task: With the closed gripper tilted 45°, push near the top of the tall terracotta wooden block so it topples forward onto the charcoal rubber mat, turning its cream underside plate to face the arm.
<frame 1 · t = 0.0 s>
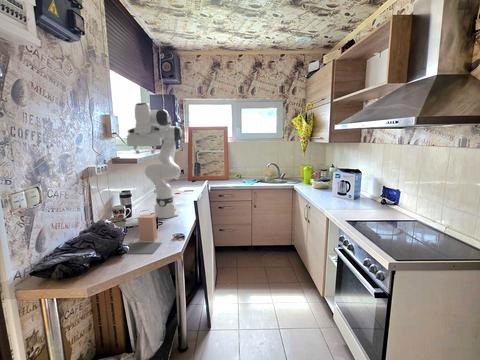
hand: (145, 153, 158), 48 cm above the worktop, tool pointing down, fingers open, 8 cm apart
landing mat: (140, 248, 136), on the worktop
terracotta block: (148, 240, 146), on the worktop
food container: (114, 236, 154), on the worktop
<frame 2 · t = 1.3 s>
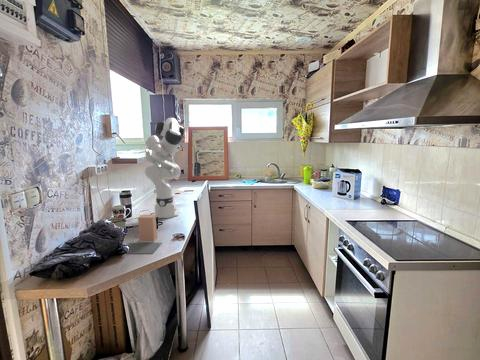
hand: (165, 170, 146), 39 cm above the worktop, tool tilted 55°, fingers open, 8 cm apart
nothing on the worktop moved.
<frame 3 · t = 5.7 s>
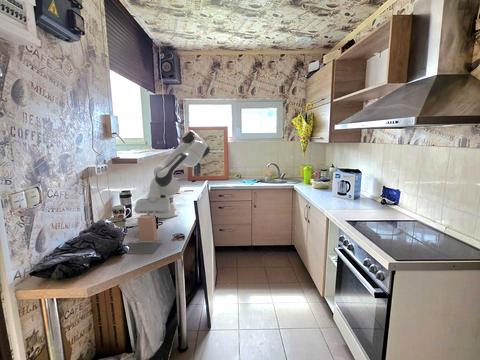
hand: (149, 219, 147), 11 cm above the worktop, tool tilted 45°, fingers closed
terracotta block: (148, 240, 146), on the worktop, touching gripper
everything else where it was.
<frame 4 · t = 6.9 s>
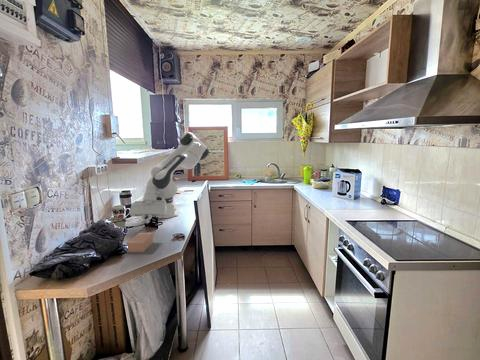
hand: (145, 222, 141), 11 cm above the worktop, tool tilted 45°, fingers closed
terracotta block: (146, 237, 144), point 3 cm above the worktop, tilted 90°, touching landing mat
everything else where it was.
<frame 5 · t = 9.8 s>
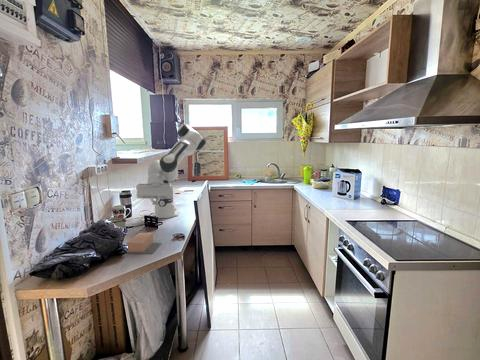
hand: (155, 204, 147), 20 cm above the worktop, tool tilted 45°, fingers closed
nothing on the worktop moved.
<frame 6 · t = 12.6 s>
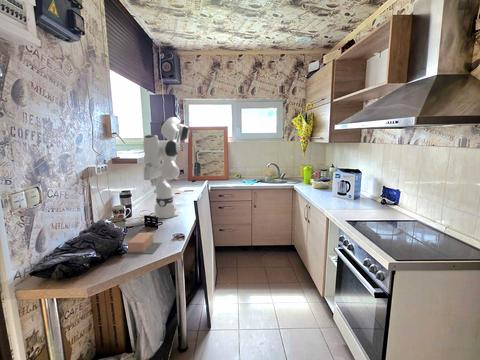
hand: (153, 185, 155), 29 cm above the worktop, tool pointing down, fingers closed
nothing on the worktop moved.
at the end: terracotta block tilted 90°; terracotta block inside the target area (5.0 cm from its centre), point 2.8 cm above the worktop; terracotta block touching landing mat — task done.
